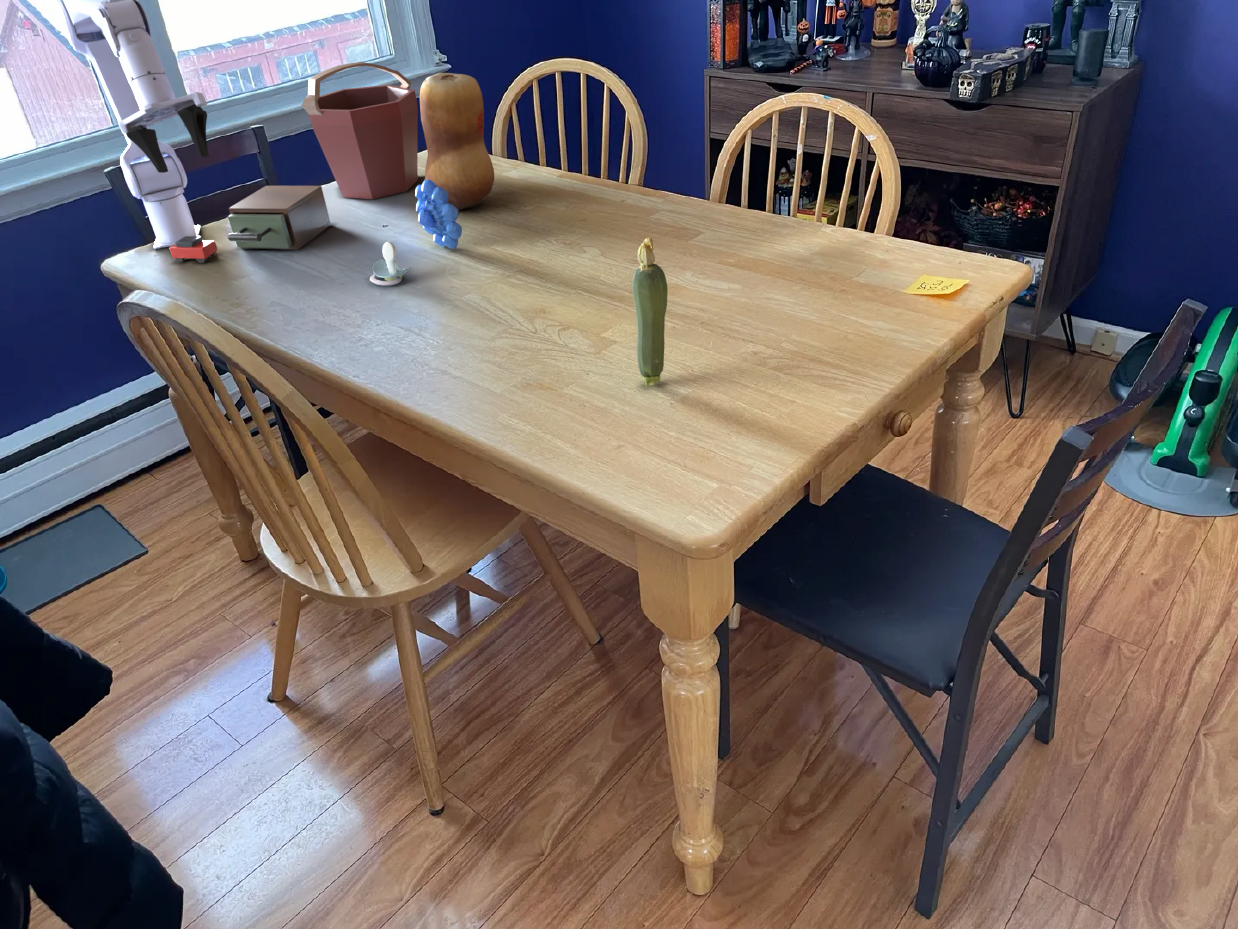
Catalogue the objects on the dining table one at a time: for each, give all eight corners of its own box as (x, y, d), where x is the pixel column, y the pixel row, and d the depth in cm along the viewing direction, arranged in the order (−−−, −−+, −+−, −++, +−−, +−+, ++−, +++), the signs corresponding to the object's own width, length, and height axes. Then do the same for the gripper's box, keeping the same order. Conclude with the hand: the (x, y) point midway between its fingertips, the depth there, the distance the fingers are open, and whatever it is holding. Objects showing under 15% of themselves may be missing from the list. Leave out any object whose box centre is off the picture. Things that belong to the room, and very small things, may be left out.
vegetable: (636, 375, 123) (626, 229, 112) (669, 371, 123) (662, 225, 112) (640, 391, 119) (630, 242, 108) (673, 387, 119) (667, 238, 108)
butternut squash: (494, 216, 180) (473, 80, 166) (426, 220, 181) (400, 86, 167) (502, 193, 192) (483, 64, 177) (438, 197, 192) (415, 69, 178)
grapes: (406, 247, 169) (392, 181, 163) (436, 235, 173) (424, 171, 166) (443, 261, 162) (430, 193, 155) (474, 249, 166) (462, 182, 159)
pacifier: (390, 291, 153) (417, 277, 157) (381, 255, 149) (409, 242, 153) (362, 282, 157) (389, 269, 161) (353, 247, 153) (381, 234, 157)
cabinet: (297, 249, 172) (286, 208, 168) (241, 248, 175) (228, 208, 171) (331, 224, 183) (321, 185, 179) (277, 224, 186) (266, 185, 181)
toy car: (174, 262, 171) (167, 242, 169) (187, 254, 175) (180, 235, 173) (207, 263, 170) (200, 243, 168) (219, 255, 173) (213, 235, 171)
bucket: (335, 211, 189) (303, 83, 175) (308, 186, 206) (276, 66, 192) (446, 185, 199) (424, 61, 185) (412, 163, 215) (389, 47, 201)
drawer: (275, 258, 167) (265, 226, 164) (222, 257, 169) (212, 225, 166) (320, 225, 180) (312, 194, 177) (271, 224, 183) (262, 194, 179)
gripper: (94, 92, 146) (131, 177, 149) (175, 60, 144) (211, 147, 147) (119, 97, 153) (155, 179, 156) (197, 67, 151) (231, 150, 154)
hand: (184, 164), depth 152 cm, fingers open, 7 cm apart
